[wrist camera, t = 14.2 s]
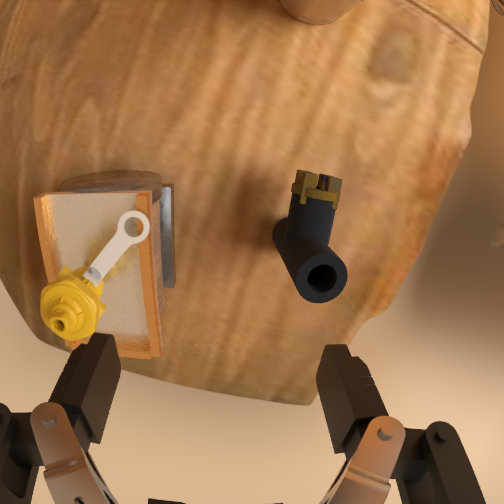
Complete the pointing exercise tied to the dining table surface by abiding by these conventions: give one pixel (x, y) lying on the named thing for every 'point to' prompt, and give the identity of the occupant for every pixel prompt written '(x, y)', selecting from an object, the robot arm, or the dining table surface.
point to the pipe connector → (311, 238)
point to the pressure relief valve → (85, 287)
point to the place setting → (503, 1)
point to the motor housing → (129, 264)
